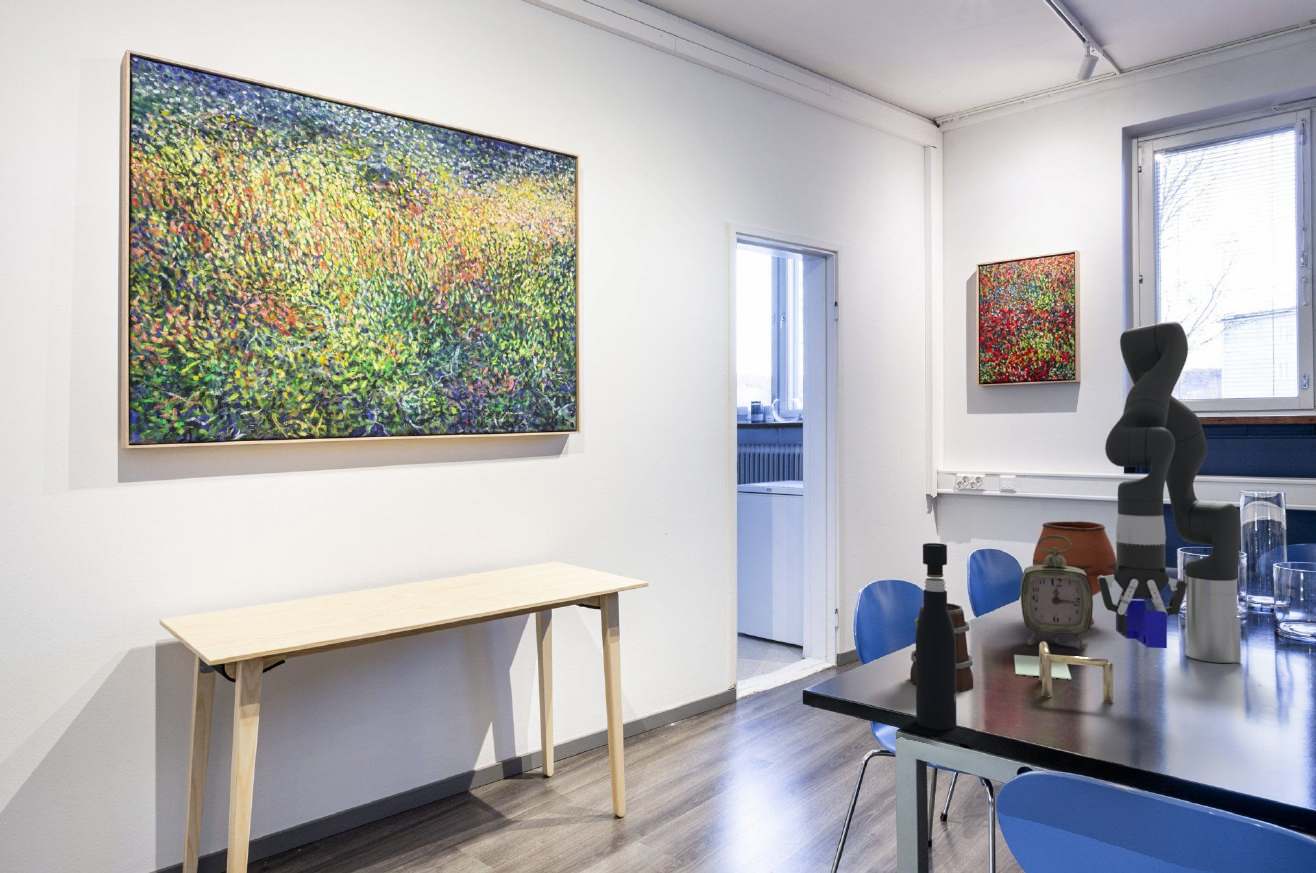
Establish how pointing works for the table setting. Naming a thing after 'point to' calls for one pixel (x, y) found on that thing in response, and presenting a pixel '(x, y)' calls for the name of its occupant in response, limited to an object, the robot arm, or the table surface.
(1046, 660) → the wire track
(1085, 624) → the tabletop clock
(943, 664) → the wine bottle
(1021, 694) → the table surface
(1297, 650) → the table surface
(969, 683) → the mug
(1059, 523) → the terracotta pot
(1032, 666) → the pad
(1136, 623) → the cable clip
